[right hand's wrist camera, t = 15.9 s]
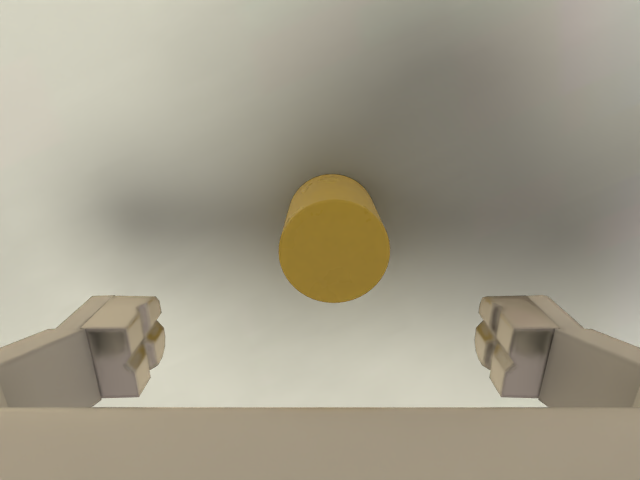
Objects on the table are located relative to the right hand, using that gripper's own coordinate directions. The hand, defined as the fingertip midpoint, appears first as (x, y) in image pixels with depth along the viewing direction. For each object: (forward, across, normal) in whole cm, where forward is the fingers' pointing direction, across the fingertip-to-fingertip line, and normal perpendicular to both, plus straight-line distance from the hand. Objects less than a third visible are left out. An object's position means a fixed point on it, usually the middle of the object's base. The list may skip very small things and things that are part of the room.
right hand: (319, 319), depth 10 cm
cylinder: (+9, 0, 0) cm, 9 cm away
